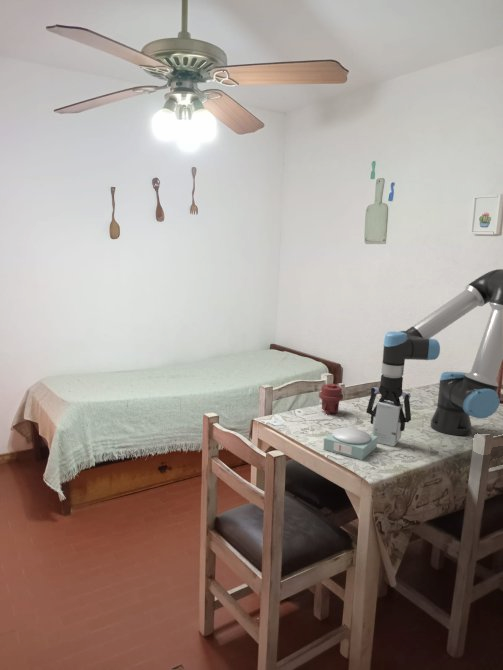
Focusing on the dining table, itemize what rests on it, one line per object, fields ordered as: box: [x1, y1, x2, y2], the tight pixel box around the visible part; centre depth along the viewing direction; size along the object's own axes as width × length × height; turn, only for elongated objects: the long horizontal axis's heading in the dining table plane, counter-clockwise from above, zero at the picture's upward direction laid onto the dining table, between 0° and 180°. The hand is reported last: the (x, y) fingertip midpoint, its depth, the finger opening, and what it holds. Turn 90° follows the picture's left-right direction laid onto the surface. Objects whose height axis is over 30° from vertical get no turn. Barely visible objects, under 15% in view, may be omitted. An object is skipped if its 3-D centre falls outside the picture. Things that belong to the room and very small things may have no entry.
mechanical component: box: [318, 383, 344, 416], centre depth 208 cm, size 12×10×10 cm
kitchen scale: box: [323, 427, 378, 461], centre depth 170 cm, size 14×15×5 cm
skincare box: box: [372, 400, 404, 447], centre depth 177 cm, size 8×6×15 cm
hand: (386, 435), depth 178 cm, fingers closed on skincare box, 8 cm apart
